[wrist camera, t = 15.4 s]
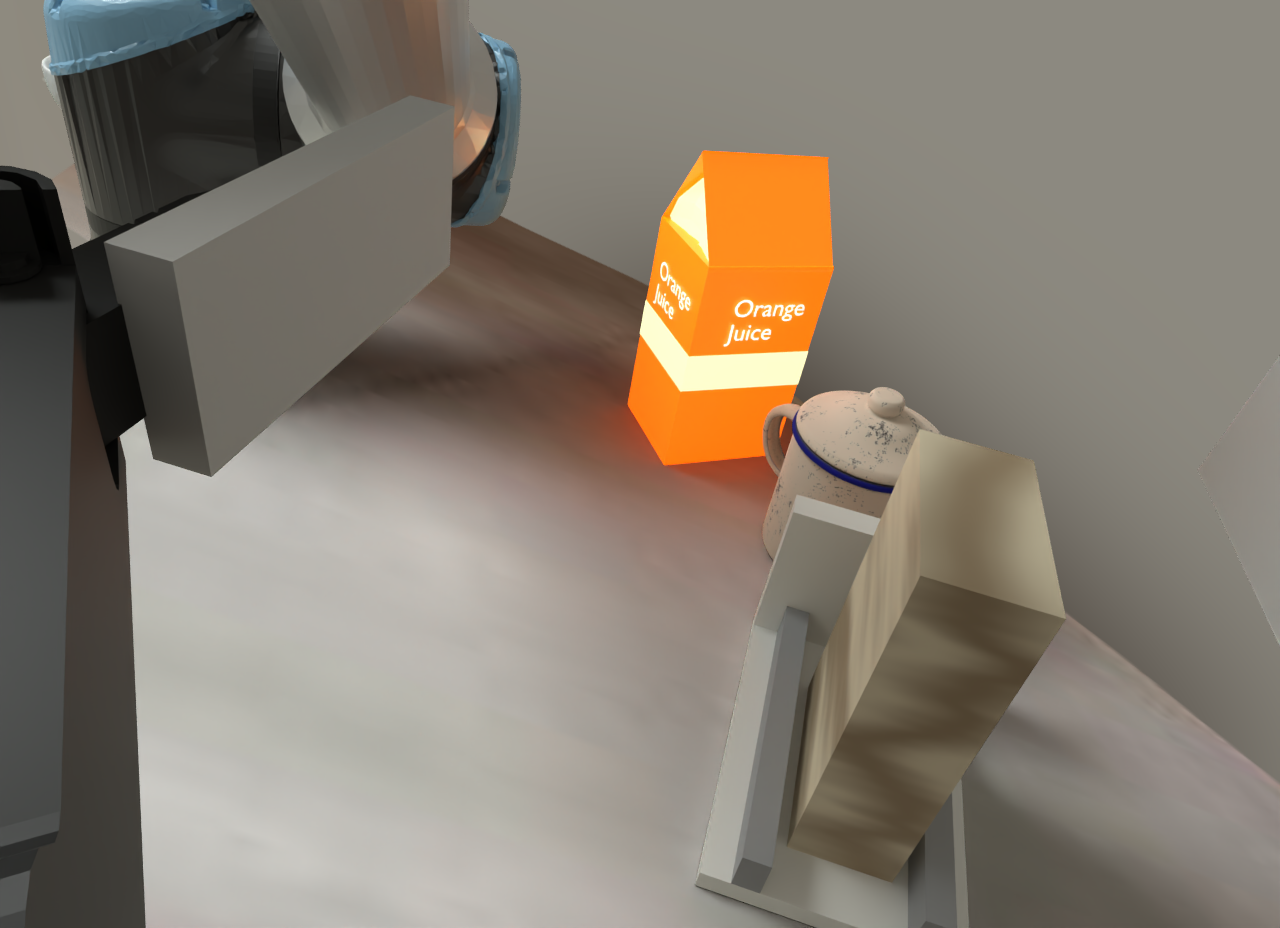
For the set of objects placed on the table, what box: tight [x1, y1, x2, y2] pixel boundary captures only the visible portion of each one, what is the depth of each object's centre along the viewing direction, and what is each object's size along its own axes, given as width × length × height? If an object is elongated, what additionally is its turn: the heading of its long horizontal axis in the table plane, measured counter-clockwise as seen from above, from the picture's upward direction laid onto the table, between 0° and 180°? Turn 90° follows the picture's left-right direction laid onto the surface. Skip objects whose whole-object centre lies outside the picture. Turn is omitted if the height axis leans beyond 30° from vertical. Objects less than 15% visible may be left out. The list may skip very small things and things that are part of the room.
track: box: [695, 495, 969, 928], centre depth 38 cm, size 16×11×9 cm
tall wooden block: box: [787, 429, 1066, 883], centre depth 35 cm, size 4×9×16 cm, turn 165°
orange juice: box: [628, 151, 834, 465], centre depth 57 cm, size 8×9×20 cm
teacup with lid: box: [762, 387, 941, 561], centre depth 51 cm, size 12×9×12 cm
